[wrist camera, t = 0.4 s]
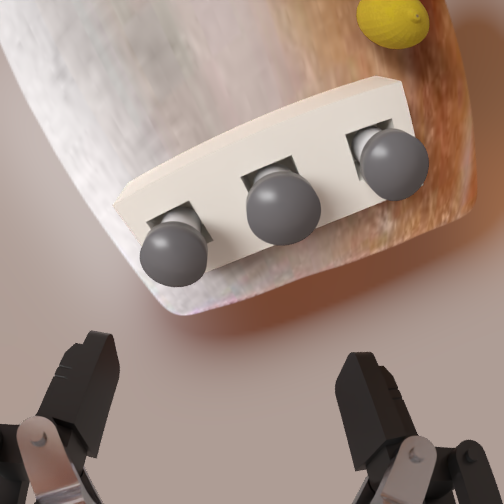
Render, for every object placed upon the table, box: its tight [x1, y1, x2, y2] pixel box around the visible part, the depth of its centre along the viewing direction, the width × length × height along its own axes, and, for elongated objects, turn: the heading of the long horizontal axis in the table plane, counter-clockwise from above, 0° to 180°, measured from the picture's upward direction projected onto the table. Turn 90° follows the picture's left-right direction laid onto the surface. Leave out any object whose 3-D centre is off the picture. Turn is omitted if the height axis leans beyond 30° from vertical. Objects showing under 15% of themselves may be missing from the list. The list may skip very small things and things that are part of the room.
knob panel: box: [112, 76, 423, 273], centre depth 27 cm, size 26×10×5 cm, turn 114°
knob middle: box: [246, 163, 321, 245], centre depth 24 cm, size 5×5×6 cm
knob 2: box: [351, 126, 429, 201], centre depth 22 cm, size 5×5×6 cm
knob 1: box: [140, 207, 208, 287], centre depth 25 cm, size 5×5×6 cm
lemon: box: [356, 0, 429, 49], centre depth 18 cm, size 6×6×8 cm
